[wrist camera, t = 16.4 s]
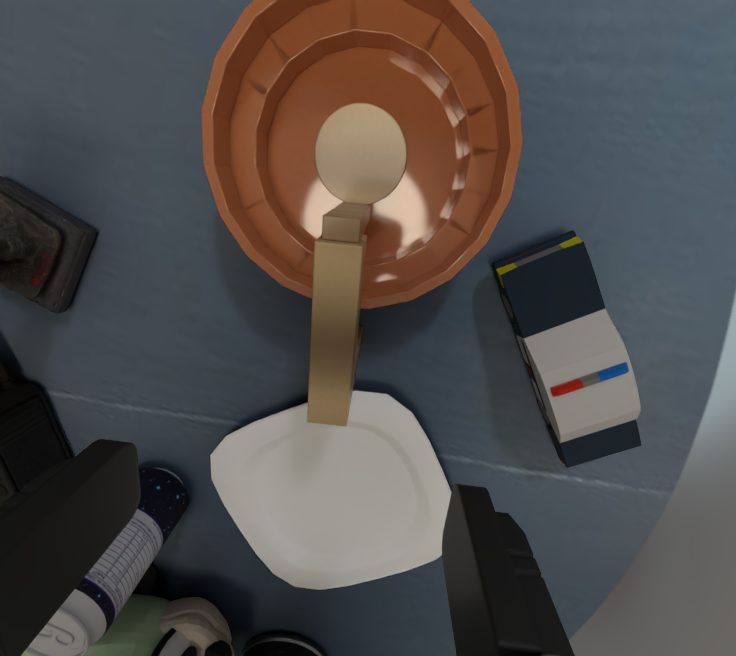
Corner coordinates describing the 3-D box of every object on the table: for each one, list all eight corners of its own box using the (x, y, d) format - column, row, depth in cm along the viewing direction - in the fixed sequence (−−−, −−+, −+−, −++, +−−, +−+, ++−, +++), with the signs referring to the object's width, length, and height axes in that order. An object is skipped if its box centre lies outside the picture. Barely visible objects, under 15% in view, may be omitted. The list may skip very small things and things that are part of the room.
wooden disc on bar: (323, 104, 22) (275, 58, 13) (411, 113, 22) (425, 74, 13) (312, 337, 28) (274, 419, 19) (382, 345, 28) (378, 431, 19)
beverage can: (144, 449, 32) (12, 585, 21) (204, 481, 33) (107, 629, 22) (120, 492, 34) (-14, 640, 23) (177, 522, 35) (76, 679, 23)
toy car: (562, 228, 25) (602, 236, 20) (617, 425, 29) (661, 470, 25) (486, 259, 26) (508, 273, 21) (551, 446, 30) (581, 492, 26)
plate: (290, 586, 36) (286, 604, 35) (193, 435, 31) (182, 448, 30) (474, 537, 33) (478, 555, 32) (399, 361, 28) (399, 371, 27)
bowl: (467, 300, 27) (484, 322, 22) (239, 274, 27) (207, 291, 22) (521, 22, 21) (559, -27, 17) (236, -7, 22) (194, -63, 17)
